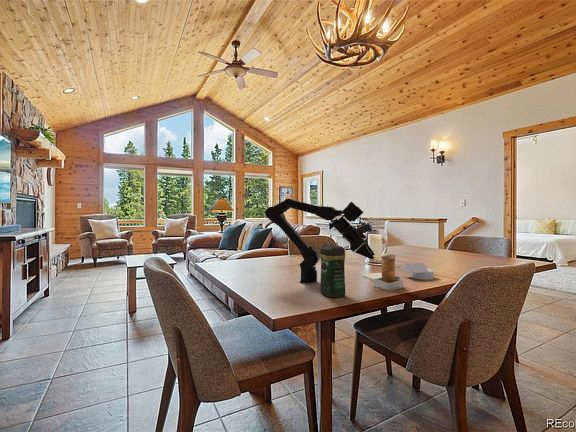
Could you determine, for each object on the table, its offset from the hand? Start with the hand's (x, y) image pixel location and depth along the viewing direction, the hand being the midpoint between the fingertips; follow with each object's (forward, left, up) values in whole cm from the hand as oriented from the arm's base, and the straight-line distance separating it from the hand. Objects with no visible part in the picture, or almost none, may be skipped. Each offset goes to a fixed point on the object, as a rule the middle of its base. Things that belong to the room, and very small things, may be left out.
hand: (373, 256), depth 122 cm
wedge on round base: (+21, +20, -12) cm, 31 cm away
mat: (+3, +16, -12) cm, 20 cm away
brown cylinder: (+6, 0, -12) cm, 13 cm away
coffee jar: (-15, -15, -12) cm, 25 cm away
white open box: (+6, 0, -12) cm, 13 cm away
